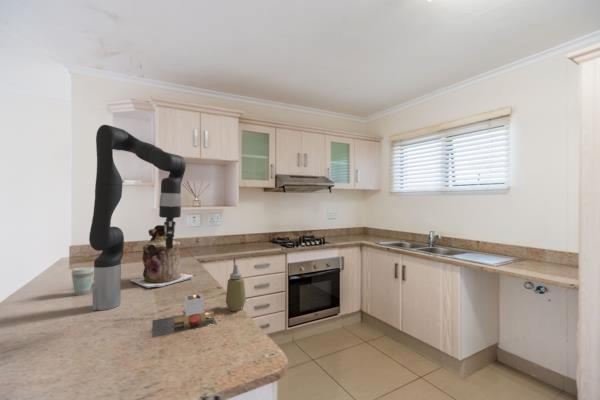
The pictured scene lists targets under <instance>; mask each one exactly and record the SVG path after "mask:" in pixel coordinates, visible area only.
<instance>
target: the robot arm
mask: <svg viewBox="0 0 600 400" xmlns="http://www.w3.org/2000/svg"><path fill="white" fill-rule="evenodd" d="M95 145H96V146H95V147H96V149H95V150H96V173H95V174H96V178H95V188H94V203H93V205H94V206H93V213H92V218H91V219H92V220H91V225H90V231H89V237H88V239H89V240H88V241H89V244H90V247H91V248H92V249H93V250H95V251H97V252H99V251H100V252H101V253H100V255H99V256H98V257H96V258H95V259H94V262H93V269H94V272H93V286H92V311H105V310H109V309H110V310H111V309H114V308H117V307H118V306H120V305H121V303H122V302H121V300H122V298H121V297H122V295H121V294H122V293H121V292H122V286H121V285H122V280H121V279H122V278H121V277H122V259H123V258H124V257H123V256H124V245H125V236H124V233H123V231H122V229H121V228H119V227H118V226H111V223H112V222H111V221H112V217H113V213H114V212H115V210H116V208H117V206H118V205H119V203H120V201H121V199H122V196H123V195H122V194H123V178H122V176H121V173H120V172H119V169H118V168H117V166H116V164H115V162H114V154H113V153H114V152H113V151H114V150H115V151H124V152H129V153H131V154H134V155H135V156H136V157H137V158H139V159H140V160H142V161H144V162H147V163H149V164H151V165H153V166H154V167H156V168H157V169H159V170H161V171H164V172H168V173H169V174H168V177H165V178H163V179H161V181H160V197H159V213H158V216H159V218H166V219H165V221H164V222H163V225H164V227H165V235H166V248H167V249H171V248H173V241H174V237H175V232H176V231H175V230H176V224H177V223H176V221H174V219H176V218H181V214H182V213H181V212H182V211H181V210H182V209H181V208H182V196H181V195H182V194H181V192H182V181H183V178H184V176H185V175H184V174H185V172H186V168H187V167H186V159H184V157H183V156H181V155H178V154H175V153H171V152H167V151H164V150H163V149H162V148H160V147H158V146H155V145H153V144H151V143H148V142H145V141H142V140H140V139H138V138H137V137H135V136H133V135H132V134H131V133H130V132H128V131H126V130H125V129H123V128H120V127H116V126H112V125H109V124H101V125H100V126H99V127H98V129H97V132H96V137H95Z"/></svg>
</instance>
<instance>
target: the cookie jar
mask: <svg viewBox="0 0 600 400" xmlns="http://www.w3.org/2000/svg"><path fill="white" fill-rule="evenodd" d="M148 235H149V236H150V237H151V238H150V240H149V241H147V243H146V244H144V245H143V247H142V249H143V253H142V256H141V257H142V258H141V260H142V264H143V267H144V269H143V273H142V276H143V277H139V278H131V279H129V282H132V283H135V284H137V285H140V287H141V286H142V287H145V288H147V289H150V288H156V287H157V288H158V287H159V288H161V287H165V286H168V285H172V284H175V283H179V282H183V281H187V280H192V279H193V277H194V275H193V274H184V273H180V271H181V269H182V267H181V266H182V265H181V255H180V254H181V253H180V245H181V242H180V241H176V240H173V248H171V249H167V248H166V235H165V227H164V224H157V225H155V226H154V228H150V229H149V230H148Z"/></svg>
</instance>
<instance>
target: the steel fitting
mask: <svg viewBox="0 0 600 400" xmlns="http://www.w3.org/2000/svg"><path fill="white" fill-rule="evenodd" d="M194 297H197V298H198V299H191V298H194ZM190 299H191V300H190ZM204 310H205V297H204V295H203V293H194V294H188V295H184V296H183V311H185V315H186V316H189V315H195V314H200V313H204Z"/></svg>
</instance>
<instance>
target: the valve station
mask: <svg viewBox="0 0 600 400" xmlns="http://www.w3.org/2000/svg"><path fill="white" fill-rule="evenodd" d="M191 299H198V298H197V297H194V298H191ZM191 299H190V300H191ZM214 315H215V314H214V310H211V309H208V310H205V309H204V313H200V314H195V315H189V316H186V315H185V311H184V310H182V314H181V315H175V316H169V317H163V318H159V319H158V318H157V319H153V320H152V331H151V332H152V333H151V334H152V335H151V337H152V338H157V337H160V336H166V335H171V334H175V333H181V332H186V331H191V330H195V329H200V328H205V327H210V326H215V325H218V323H217V321H216V319H215V317H214Z"/></svg>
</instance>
